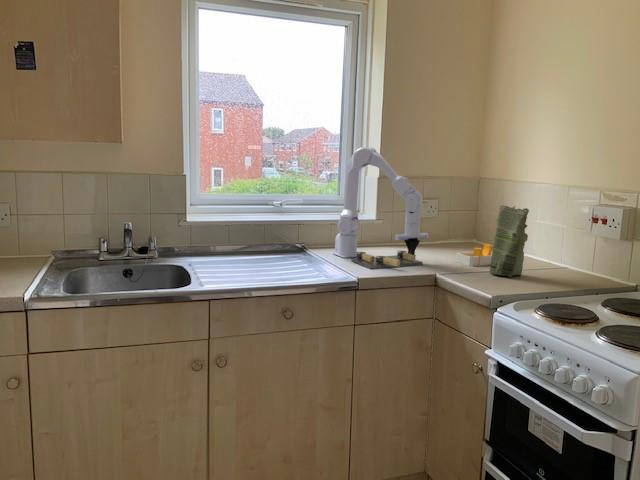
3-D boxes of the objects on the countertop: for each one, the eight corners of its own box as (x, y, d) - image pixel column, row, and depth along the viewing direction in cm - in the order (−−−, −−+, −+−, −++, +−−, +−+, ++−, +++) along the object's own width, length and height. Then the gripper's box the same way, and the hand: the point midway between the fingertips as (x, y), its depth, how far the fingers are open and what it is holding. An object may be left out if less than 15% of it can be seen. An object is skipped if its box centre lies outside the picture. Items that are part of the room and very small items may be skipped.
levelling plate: (351, 261, 220) (351, 255, 219) (401, 258, 230) (401, 252, 229) (370, 268, 207) (370, 263, 207) (422, 264, 217) (422, 259, 217)
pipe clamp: (480, 259, 231) (481, 243, 230) (490, 260, 229) (492, 245, 227) (468, 263, 222) (469, 247, 221) (478, 265, 219) (480, 249, 218)
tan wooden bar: (354, 257, 220) (354, 252, 219) (362, 257, 221) (362, 251, 221) (367, 262, 211) (367, 256, 211) (376, 261, 213) (376, 256, 212)
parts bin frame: (455, 261, 225) (456, 253, 225) (488, 259, 233) (488, 250, 232) (470, 266, 218) (471, 257, 217) (503, 263, 225) (504, 254, 224)
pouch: (491, 270, 211) (496, 203, 207) (525, 274, 207) (531, 205, 203) (487, 276, 201) (493, 205, 197) (523, 280, 197) (530, 208, 193)
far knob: (395, 256, 225) (395, 250, 225) (403, 255, 227) (403, 250, 226) (409, 261, 216) (409, 255, 216) (417, 260, 218) (417, 254, 217)
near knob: (374, 262, 212) (374, 256, 211) (380, 261, 214) (380, 255, 214) (395, 266, 205) (395, 260, 205) (401, 265, 208) (401, 259, 207)
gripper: (402, 225, 212) (401, 261, 214) (434, 223, 218) (432, 258, 220) (392, 222, 218) (390, 257, 220) (423, 221, 224) (421, 255, 226)
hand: (410, 257), depth 221 cm, fingers closed, pressing on far knob
